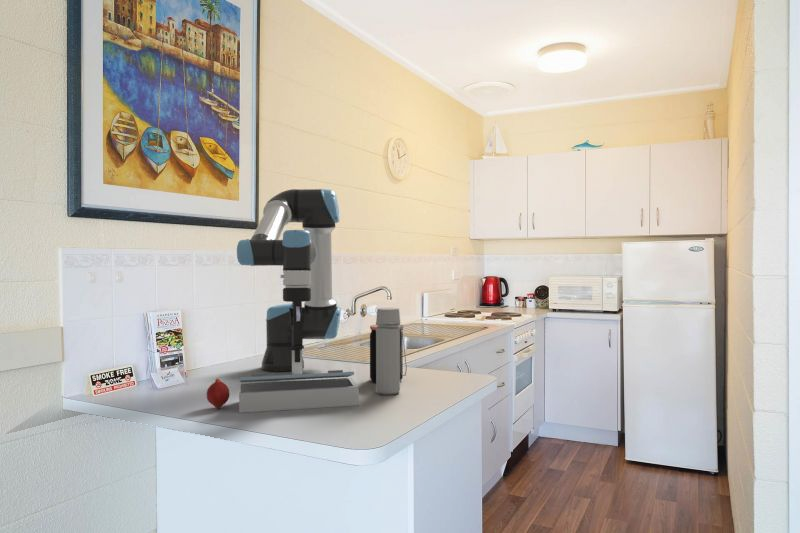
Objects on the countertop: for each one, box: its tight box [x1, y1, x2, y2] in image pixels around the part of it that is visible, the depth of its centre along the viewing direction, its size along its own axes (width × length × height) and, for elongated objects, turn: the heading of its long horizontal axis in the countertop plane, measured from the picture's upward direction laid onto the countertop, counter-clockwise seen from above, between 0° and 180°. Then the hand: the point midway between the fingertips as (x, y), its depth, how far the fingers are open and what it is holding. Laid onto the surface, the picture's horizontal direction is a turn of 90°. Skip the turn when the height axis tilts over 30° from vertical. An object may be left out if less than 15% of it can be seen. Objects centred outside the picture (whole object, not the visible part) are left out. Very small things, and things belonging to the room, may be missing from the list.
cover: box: [238, 369, 355, 383], centre depth 154 cm, size 1×30×13 cm
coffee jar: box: [369, 324, 404, 384], centre depth 181 cm, size 11×11×18 cm
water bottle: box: [375, 307, 408, 396], centre depth 165 cm, size 9×8×25 cm
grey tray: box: [238, 377, 360, 414], centre depth 153 cm, size 12×31×5 cm, turn 104°
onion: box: [206, 378, 230, 409], centre depth 148 cm, size 6×6×8 cm
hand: (297, 373), depth 151 cm, fingers closed
